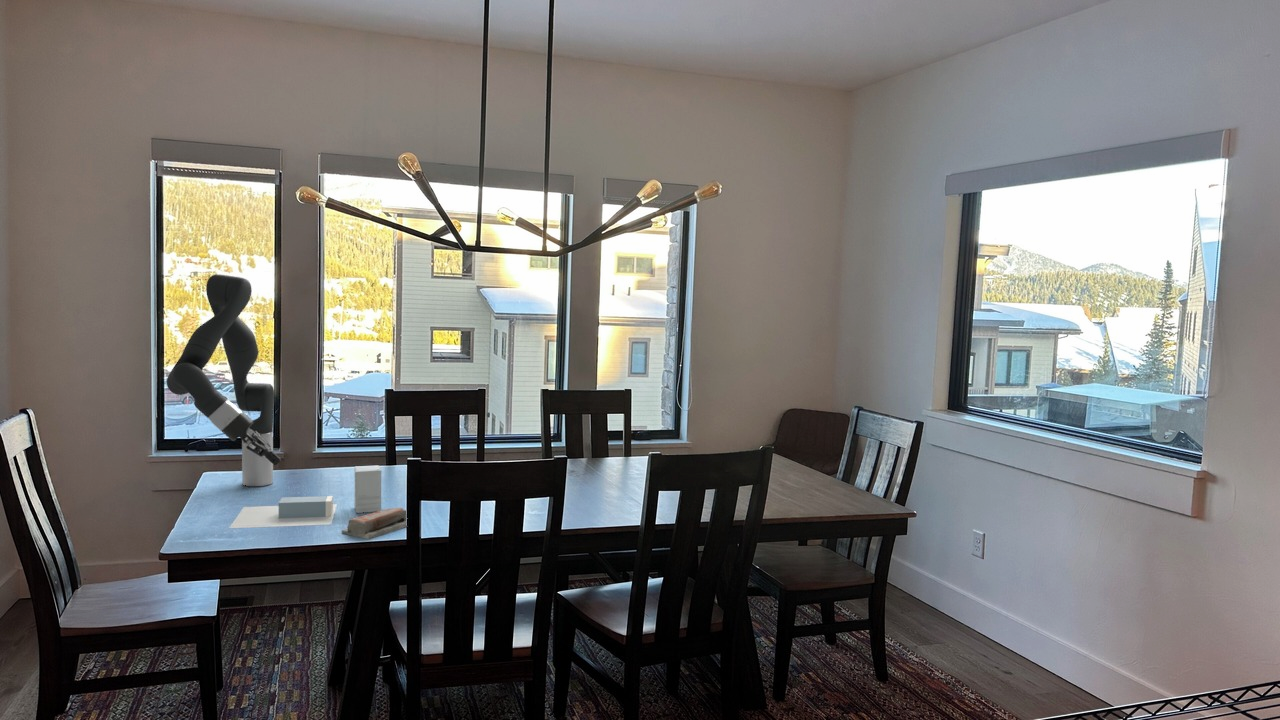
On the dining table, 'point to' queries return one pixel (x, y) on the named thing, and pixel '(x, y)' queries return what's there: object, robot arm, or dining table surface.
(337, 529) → the dining table surface
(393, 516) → the packaged product
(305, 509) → the block
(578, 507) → the dining table surface
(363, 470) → the supplement box
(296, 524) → the mat
